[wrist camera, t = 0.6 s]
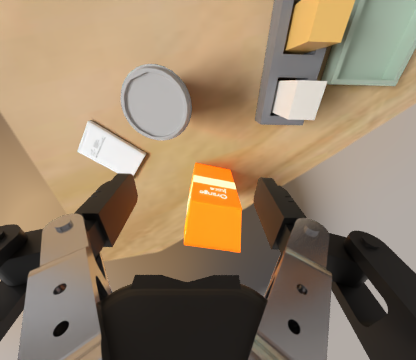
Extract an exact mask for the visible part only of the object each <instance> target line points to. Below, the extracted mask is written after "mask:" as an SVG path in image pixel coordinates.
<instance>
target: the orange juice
mask: <svg viewBox="0 0 416 360" xmlns="http://www.w3.org/2000/svg"><path fill="white" fill-rule="evenodd" d="M241 211H242V208H241V204H240V201H239V198H238V194H237V191H236V186H235V183H234V181H233V177H232V174H231V170H229V169H224V168H219V167H214V166H209V165H204V164H199V163H195V167H194V172H193V177H192V182H191V186H190V193H189V200H188V206H187V214H186V221H185V229H184V245H189V246H195V247H203V248H211V249H219V250H225V251H233V252H240V243H241Z"/></svg>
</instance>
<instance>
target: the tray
mask: <svg viewBox="0 0 416 360" xmlns="http://www.w3.org/2000/svg"><path fill="white" fill-rule="evenodd" d="M415 48H416V0H355V3H354V6H353V8H352V11H351V14H350V17H349V20H348V23H347V26H346V29H345V32H344V35H343V38H342V41H341V43H338V44H334V45H332V48H331V51H330V54H329V57H328V60H327V63H326V66H325V69H324V73H323V76H322V79H321V81H327V84H333V85H371V86H396V84H397V82H398V80H399V78H400V76H401V75H402V73H403V71H404V69H405V67H406V65H407V63H408V61H409V60H410V58H411V56H412V54H413V52H414V50H415Z"/></svg>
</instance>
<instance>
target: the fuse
mask: <svg viewBox="0 0 416 360" xmlns="http://www.w3.org/2000/svg"><path fill="white" fill-rule="evenodd" d="M326 84H327V81H308V80H289V81H277V85H276V90H275V95H274V100H273V105H272V109H271V112H272V113H274V114H277V115H279V116H281V117H283V118H286V119H288V120H314V119H315V117H316V114H317V111H318V108H319V105H320V102H321V99H322V96H323V93H324V90H325V87H326Z"/></svg>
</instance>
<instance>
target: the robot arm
mask: <svg viewBox="0 0 416 360" xmlns="http://www.w3.org/2000/svg"><path fill="white" fill-rule="evenodd" d="M137 198H138V195H137V190H136V186H135V181H134V177H133V175H132V174H126V173H118V174H117V175H116V176H115V177H114V178H113V179H112V180H111V181H108V182H106V183H105V184H103V185H101V186H100V187H99V188H98V189H97V190H96V192H94V193H93V194H92V195H91V197H90V198H89V199H88V200H87V201H86V202H85V203H84V204H83V205H82V206H81V207H80V208H79V209H78V210H77V211H76V212H75V213H74V214H67V215H63V216H61V217H58V218H56V219H54V220H53V221H51V222H50V223H48V224H47V225H46V226H45V228H44V229H40V230H35V231H30V232H25V233H24V232H23V231H22V230H21V228H20V227H19V226H18V225H5V226H0V279H1V282H0V341H1V340H2V338H3V337H4V336H5V334H6V333H7V331H8V330H9V329H10V327H11V326H12V325H13V323H14V322H15V321H16V319H17V318H18V316H19V315H20V314H21V312H22V311H23V310H24V313H23V322H22V329H21V337H20V346H19V353H18V360H327V346H328V331H329V317H330V302H331V301H330V300H331V289H332V291H333V293H334V295H335V296H336V299H337V300H338V302H339V304H340V306H341V308H342V310H343V311H344V313H345V315H346V317H347V319H348V320H349V322H350V324H351V326H352V327H353V329H354V331H355V333H356V335H357V337H358V339H359V340H360V342H361V344H362V346H363V348H364V350H365V351H366V353H367V355H368V357H369V359H370V360H416V273H415V272H413V271H412V270H411V269H410V268H409V267H408V266H407V265H406V264H405V263H404V262H403V261H402V260H401V259H400V258H399V257H398V256H397V255H396V254H395V253H394V252H393V251H392V250H391V249H390V248H389V247H388V246H387V245H386V244H385V243H384V242H382V241H381V240H379V239H378V238H376V237H375V236H373V235H370V234H368V233H365V232H362V231H352V232H351V233H350V234H349V235H348V236H347V238H346V237H342V236H339V235H335V234H331V233H329V232H328V231H327V229H326V228H325V227H324V226H323V225H321V224H320V223H318V222H316V221H314V220H312V219H308V218H306V216H305V215H304V213H303V212H302V211H301V209H300V208H299V207H298V205H297V204H296V203H295V202H294V200H293V198H291V196H290V195H289V193H288V192H287V191H286V190H285V189H284V188H282V187H281V186H277V184H276V183H275V181H274V180H273V179H272V178H259V180H258V183H257V187H256V191H255V195H254V206H255V209H256V211H257V214H258V216H259V219H260V221H261V224H262V226H263V229H264V231H265V234H266V237H267V239H268V242H269V244H270V247H271V249H279V250H280V252H281V255H280V257H279V259H278V262H277V264H276V267H275V269H274V272H273V275H272V277H271V280H270V283H269V285H268V287H267V290H266V292H265V294H264V297H263V296H262V295H260V294H259V293H258V292H257V291H255V290H253V289H251V288H250V287H247V286H245V285H242V284H240V280H239V275H233V276H232V275H213V276H209V277H206V278H202V279H198V280H195V281H191V282H183V281H180V280H176V279H173V278H169V277H166V276H163V275H135V277H134V280H133V283H132V284H130V285H127V286H125V287H122V288H120V289H118V290H116V291H115V292H113V293H112V291H111V288H110V286H109V282H108V278H107V274H106V270H105V266H104V263H103V259H102V255H101V253H100V251H101V250H102V248H103V247H113V245H114V243H115V241H116V240H117V238H118V236H119V234H120V232H121V230H122V229H123V227H124V225H125V223H126V221H127V219H128V218H129V216H130V214H131V212H132V210H133V208H134V207H135V205H136V203H137ZM367 279H369V280H370V281H371V283H372V284H373V285H374V287H375V288H376V289H377V290H378V292H379V293H380V294H381V296H382V297H383V298H384V300H385V302H386V304H387V306H388V314H387V313H386V312H385V311H384V310H383V308H382V307H381V305H380V304H379V303H378V301H377V300H376V299H375V297H374V296H373V294H372V293H371V291H370V290H369V289H368V287H367V286H366V285H365V283H364V282H365V281H366V280H367Z"/></svg>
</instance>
